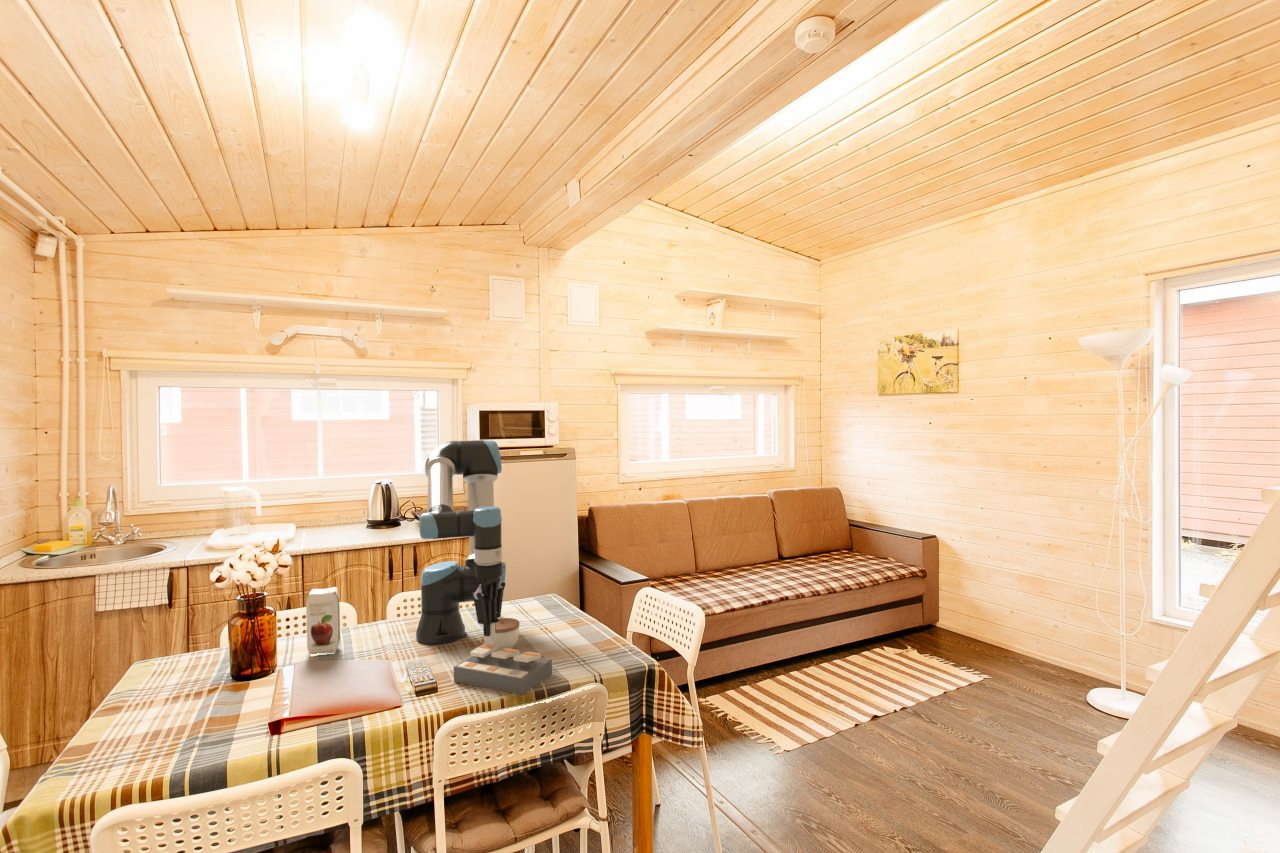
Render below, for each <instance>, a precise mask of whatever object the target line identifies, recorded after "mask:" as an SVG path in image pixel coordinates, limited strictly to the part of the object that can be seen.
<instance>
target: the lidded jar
mask: <svg viewBox="0 0 1280 853" xmlns="http://www.w3.org/2000/svg"><path fill="white" fill-rule="evenodd" d="M497 619H499V622H496V632H495V643H496V645H498V649H497V650H496V651H500V650H502V649H505V648H509V649H513V647H514V646H515V645H516V644H517V642H518V640H519V636H520V621H519V620H518V619H517V618H512V617H500V618H497Z"/></svg>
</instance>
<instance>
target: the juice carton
mask: <svg viewBox="0 0 1280 853" xmlns="http://www.w3.org/2000/svg"><path fill="white" fill-rule="evenodd" d="M305 605H306V610H305V611H306V612H305V614H306V616H305V617H306V648H307V653H308V654H309V653H310V654H317V653H334V652H336V653H337V650H338V648H339V646H340V642H341V620H340V619H341V618H340V617H341V615H340V611H341V610H340V594H339V590H338V586H333V587H328V588H312V589H311V590H310V592H309V593H308V595H307V597H306V604H305Z"/></svg>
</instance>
